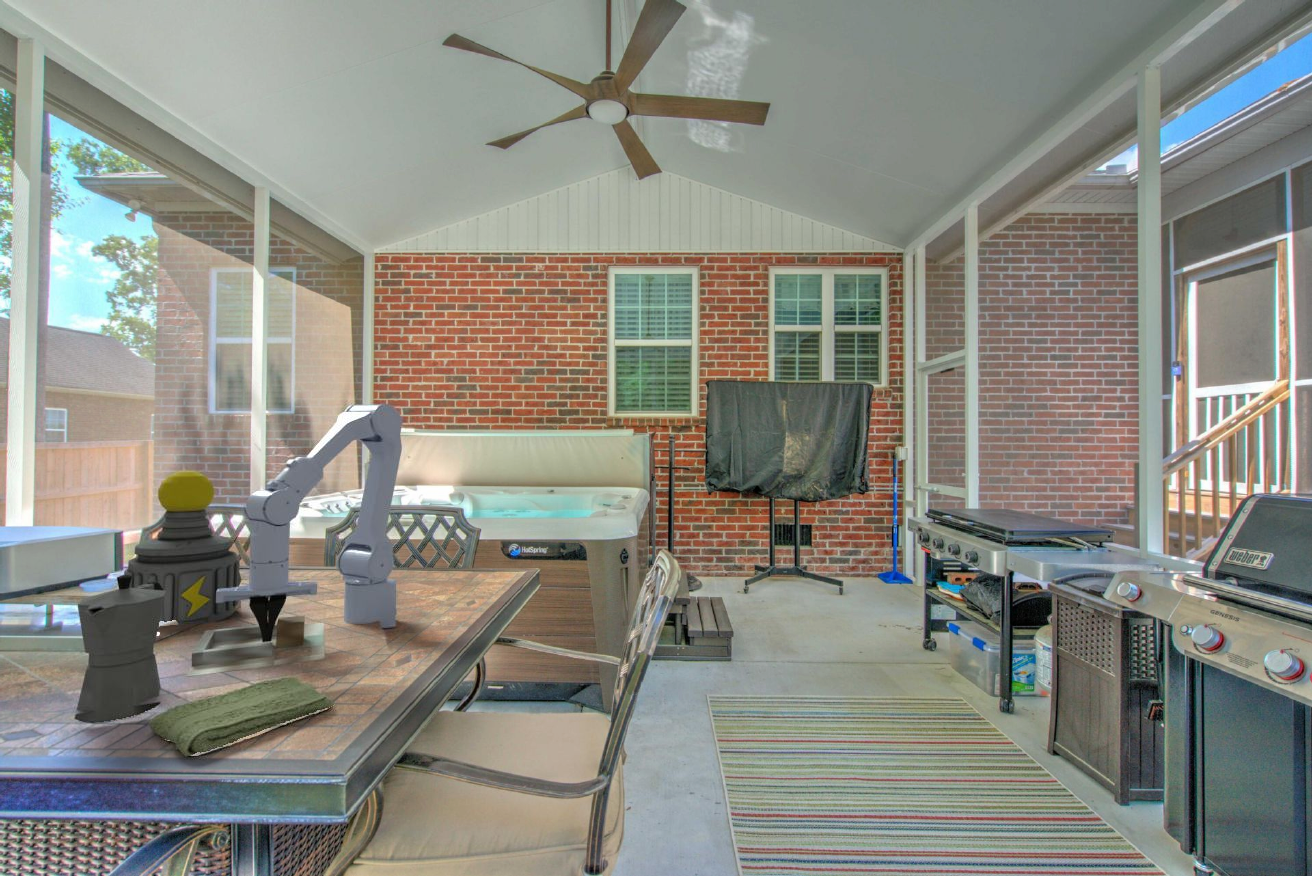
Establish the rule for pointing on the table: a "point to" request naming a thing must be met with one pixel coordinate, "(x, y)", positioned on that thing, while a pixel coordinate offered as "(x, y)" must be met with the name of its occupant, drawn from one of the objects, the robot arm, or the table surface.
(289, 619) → the walnut block
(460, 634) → the table surface
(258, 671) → the table surface
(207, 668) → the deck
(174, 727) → the washcloth
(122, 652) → the coffeepot
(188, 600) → the decorative lamp
